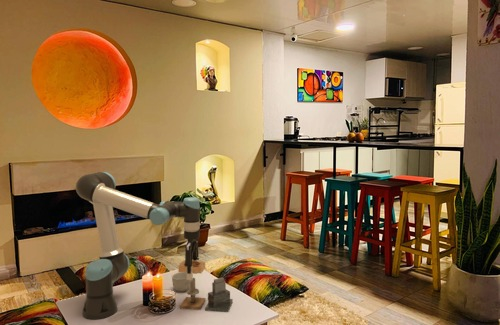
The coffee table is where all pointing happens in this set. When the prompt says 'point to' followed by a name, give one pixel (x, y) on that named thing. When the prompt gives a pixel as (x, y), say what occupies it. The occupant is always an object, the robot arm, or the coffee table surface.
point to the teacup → (180, 281)
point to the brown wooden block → (197, 267)
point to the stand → (192, 298)
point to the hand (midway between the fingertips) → (192, 276)
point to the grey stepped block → (219, 297)
